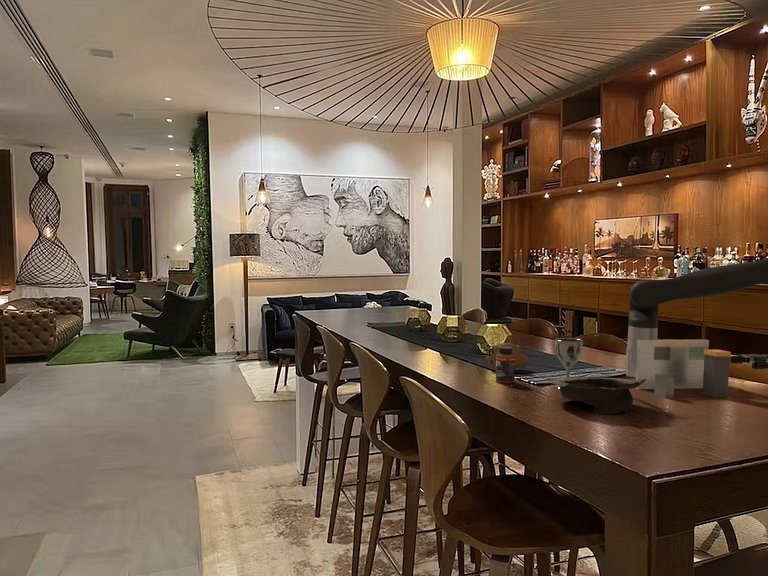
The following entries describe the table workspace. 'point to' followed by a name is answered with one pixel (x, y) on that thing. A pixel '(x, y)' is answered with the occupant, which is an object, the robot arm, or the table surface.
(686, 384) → the white upright board
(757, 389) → the table surface
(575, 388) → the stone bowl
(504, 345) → the wooden carving
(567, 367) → the wine glass
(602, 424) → the table surface
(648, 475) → the table surface
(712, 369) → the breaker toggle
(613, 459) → the table surface
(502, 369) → the supplement bottle
